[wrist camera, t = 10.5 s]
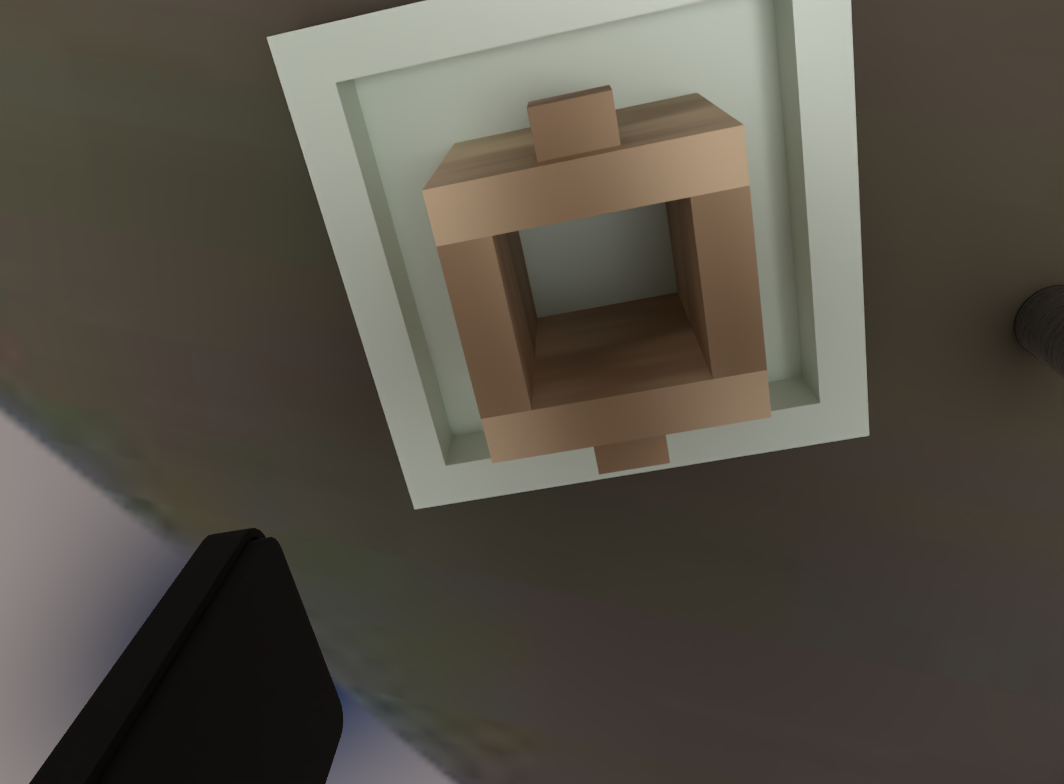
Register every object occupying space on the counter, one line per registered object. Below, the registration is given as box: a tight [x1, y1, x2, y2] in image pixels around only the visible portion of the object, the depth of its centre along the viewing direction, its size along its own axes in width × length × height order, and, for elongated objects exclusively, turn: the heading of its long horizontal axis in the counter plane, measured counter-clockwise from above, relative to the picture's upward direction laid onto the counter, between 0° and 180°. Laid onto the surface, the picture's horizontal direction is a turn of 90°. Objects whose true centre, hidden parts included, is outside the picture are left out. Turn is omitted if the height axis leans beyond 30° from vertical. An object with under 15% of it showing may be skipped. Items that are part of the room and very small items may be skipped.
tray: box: [267, 0, 869, 510], centre depth 21 cm, size 12×12×2 cm
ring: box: [422, 85, 772, 474], centre depth 19 cm, size 6×8×6 cm
